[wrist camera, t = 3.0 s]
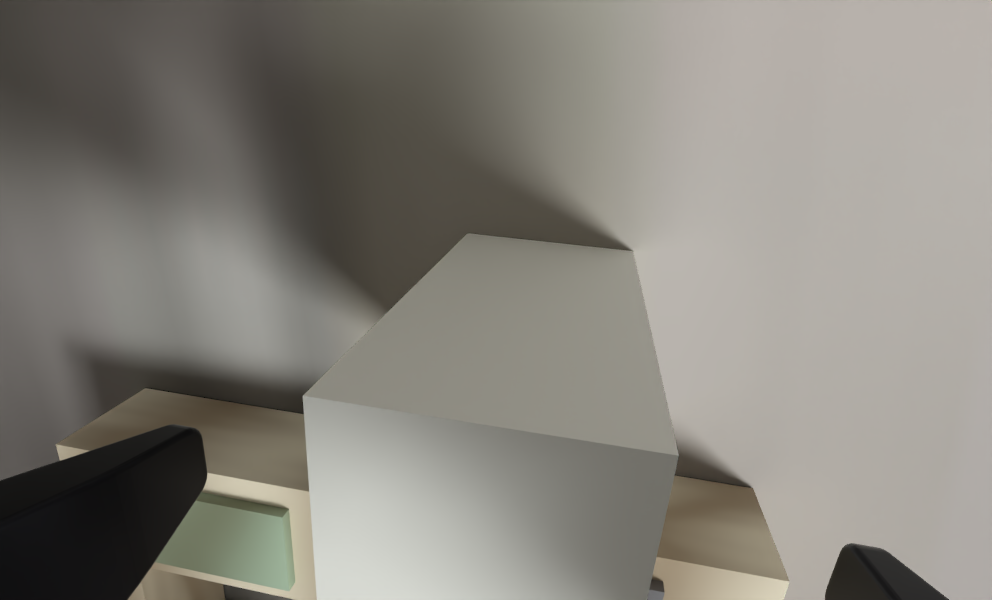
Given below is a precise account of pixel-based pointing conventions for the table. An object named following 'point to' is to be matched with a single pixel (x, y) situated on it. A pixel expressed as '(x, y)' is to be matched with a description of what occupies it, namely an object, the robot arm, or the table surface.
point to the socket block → (288, 530)
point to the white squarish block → (495, 435)
